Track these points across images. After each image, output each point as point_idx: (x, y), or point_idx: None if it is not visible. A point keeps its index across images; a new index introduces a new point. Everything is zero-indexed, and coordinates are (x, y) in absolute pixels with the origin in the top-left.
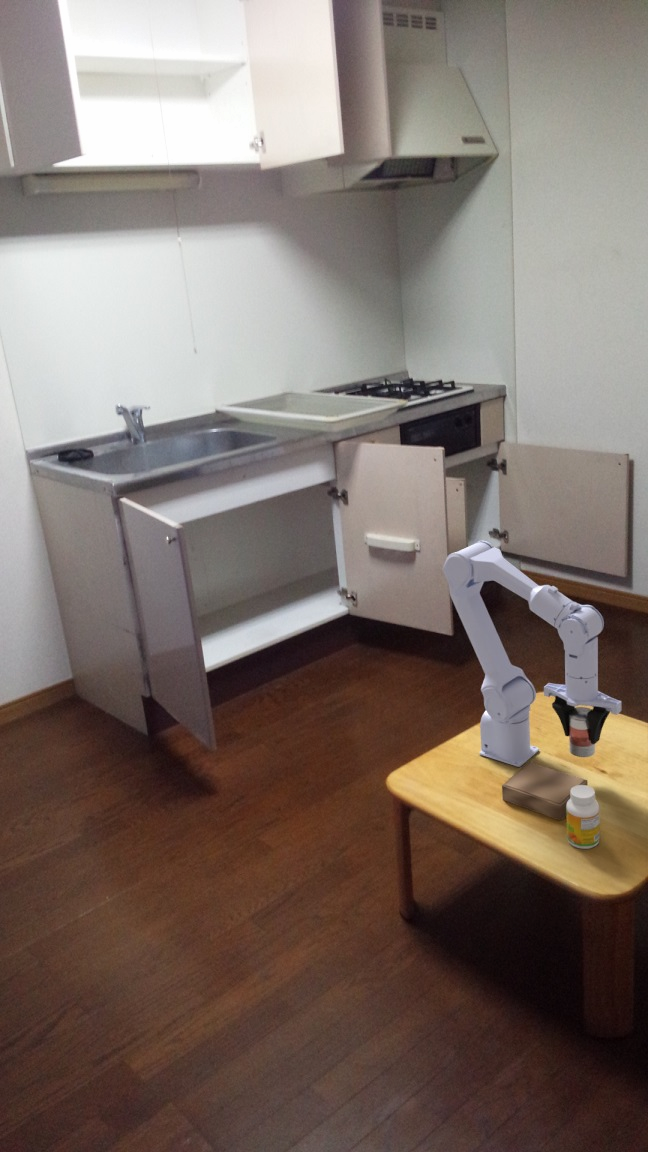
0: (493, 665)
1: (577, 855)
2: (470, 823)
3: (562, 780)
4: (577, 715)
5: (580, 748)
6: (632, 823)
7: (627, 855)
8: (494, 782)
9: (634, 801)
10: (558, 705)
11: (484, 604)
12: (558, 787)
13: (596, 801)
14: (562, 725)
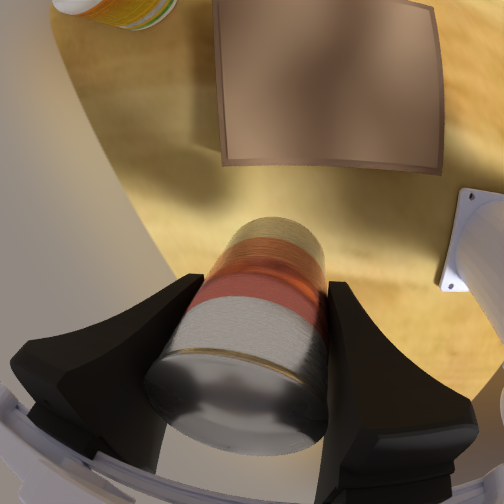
0: None
1: None
2: None
3: (288, 113)
4: (235, 394)
5: (246, 236)
6: (100, 121)
7: (71, 37)
8: (477, 92)
9: (136, 198)
10: (415, 446)
11: None
12: (275, 67)
13: (56, 5)
14: (364, 312)
